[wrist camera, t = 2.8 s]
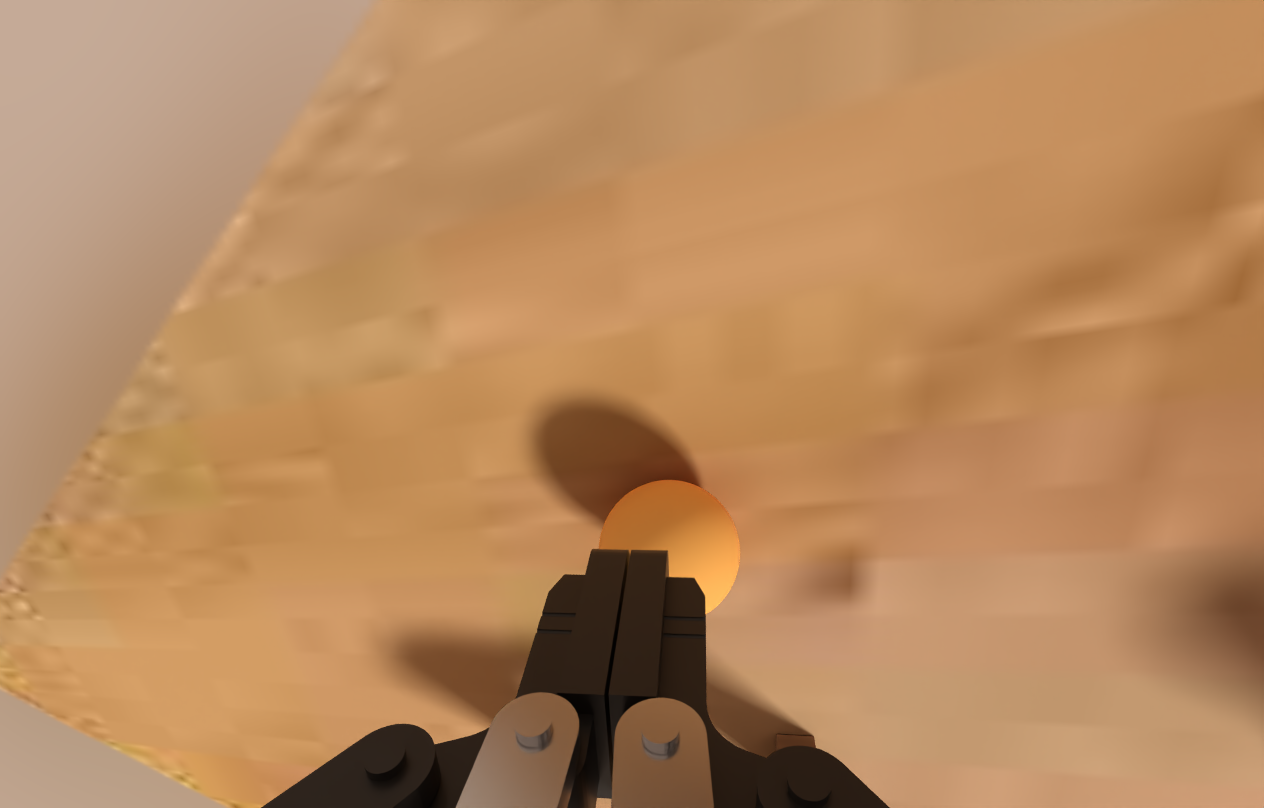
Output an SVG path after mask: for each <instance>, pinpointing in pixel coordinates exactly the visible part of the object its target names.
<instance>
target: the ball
mask: <svg viewBox="0 0 1264 808" xmlns="http://www.w3.org/2000/svg"><path fill="white" fill-rule="evenodd" d="M599 549H618V550H629V552H630V553H631V550H668V557H669V577H690V578H695V580H696V581H697V583H698V585H699V586H700V588H701V590H702V591H703V593H704V595H705V609H706V614H707V613H709V612H710V611H712V610H713V609H714V608H715V607H716V606H718V605H719V604H720V602H721V601H722V600H723V599H724V598H725V597H726V595H727V594H728V592H729V591H730V589H731V587H732V585H733V583H734V581H735V579H736V575H737V572H738V568H739V561H740V544H739V539H738V534H737V530H736V528H735V525H734V523H733V520H732V518H731V517H730V515H729V513H728V512H727V510H726V509H725V508H724V507H723V505H722V504H721V503H720V502H719V501H718V500H717V499H716V498H715V497H714V496H712V495H711V494H710V493H709V492H707V491H705V490H704V489H702V488H700V487H698V486H696V485H694V484H691V483H687V482H684V481H678V480H659V481H653V482H650V483H646V484H644V485H642V486H639V487H637V488H635V489H634V490H632V491H630V492H629V493H628V494H626V495H625V496H624V497H623V498H622V499H621V500H620V501H619V502H618V503H617V504H616V505H615V506H614V507H613V509H612V510H611V512H610V513H609V515H608V517H607V519H606V521H605V523H604V526H603V529H602V532H601V536H600V542H599Z"/></svg>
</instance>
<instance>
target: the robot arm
mask: <svg viewBox="0 0 1264 808" xmlns="http://www.w3.org/2000/svg"><path fill="white" fill-rule="evenodd" d="M597 798H610V799H612V802H611V808H889V807H888V806H887V805H886V804H885V803H884V802H883V801H882V800H881V799H880V798H879V797H878V796H877V795H876V794H875V793H874V792H872V791H871V790H870V789H869V788H868V787H867V786H866V785H865V784H864V783H863V782H862V781H861V780H860V779H859V778H858V777H857V776H856V775H854V774H853V773H852V772H851V771H850V770H849V769H848V768H847V767H846V766H845V765H844V764H843V763H842V762H840V761H839V760H838V759H837V758H835V757H834V756H832V755H831V754H829V753H827V752H825V751H822V750H820V749H817V748H814V747H809V746H789V747H785V748H782V749H779V750H777V751H775V752H773V753H772V754H771V755H770V756H768V757H767V758H765V757H762V756H759V755H756V754H754V753H751V752H748V751H745V750H743V749H741V748H738V747H737V746H735V745H733V744H732V743H730V742H729V741H727V740H726V739H725V738H724V737H722V736H721V734H720V733H719V732H718V731H717V730H716V729H715V727H714V726H713V724H712V722H711V720H710V718H709V715H708V712H707V705H706V609H705V595H704V593H703V591H702V590H701V588H700V586H699V585H698V583H697V581H696V580H695V578H690V577H669V557H668V550H631V553H630V552H629V550H618V549H592V551H591V554H590V558H589V562H588V566H587V570H586V574H585V575H566V574H565V575H564V576H563V577H562V578H561V579H560V580H559V581H558V582H557V583H556V585H555V586H554V587H553V588H552V589H551V590H550V591H549V593H548V596H547V599H546V602H545V606H544V609H543V612H542V616H541V619H540V622H539V625H538V628H537V633H536V635H535V638H534V641H533V645H532V648H531V651H530V654H529V658H528V661H527V664H526V667H525V671H524V674H523V677H522V680H521V683H520V687H519V690H518V693H517V696H516V699H514V700H512V701H511V702H509V703H508V704H507V705H505V706H504V707H503V708H502V709H501V710H500V711H499V712H498V713H497V715H496V716H495V717H494V719H493V721H492V723H491V725H490V727H489V728H487V729H486V730H484V731H482V732H479V733H477V734H474V735H471V736H468V737H464V738H460V739H456V740H451V741H447V742H443V743H439V744H435V745H434V742H433V740H432V738H431V736H430V735H429V734H428V733H427V732H426V731H425V730H424V729H422V728H420V727H418V726H415V725H411V724H395V725H390V726H386V727H383V728H380V729H378V730H376V731H374V732H372V733H370V734H368V735H367V736H365V737H363V738H362V739H360V740H359V741H358V742H356V743H355V744H353V745H352V746H350V747H349V748H347V749H346V750H344V751H343V752H342V753H340V754H339V755H337V756H336V757H334V758H333V759H331V760H330V761H328V762H327V763H326V764H324V765H323V766H321V767H320V768H318V769H317V770H315V771H314V772H312V773H311V774H309V775H308V776H307V777H305V778H304V779H302V780H301V781H299V782H298V783H296V784H295V785H293V786H292V787H291V788H289V789H288V790H286V791H285V792H283V793H282V794H280V795H279V796H277V797H276V798H274V799H273V800H272V801H270V802H269V803H267V804H266V805H264V806H263V807H261V808H595V807H596V800H597Z"/></svg>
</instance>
